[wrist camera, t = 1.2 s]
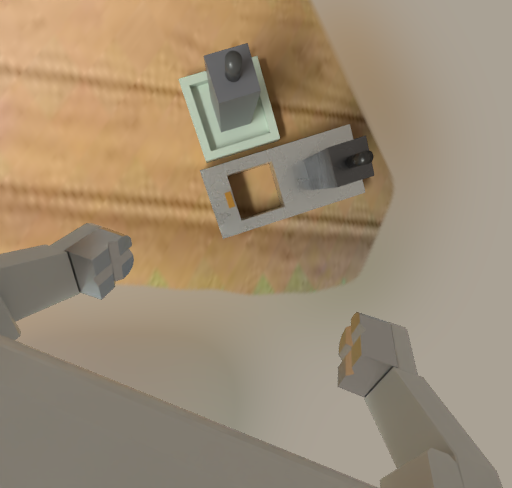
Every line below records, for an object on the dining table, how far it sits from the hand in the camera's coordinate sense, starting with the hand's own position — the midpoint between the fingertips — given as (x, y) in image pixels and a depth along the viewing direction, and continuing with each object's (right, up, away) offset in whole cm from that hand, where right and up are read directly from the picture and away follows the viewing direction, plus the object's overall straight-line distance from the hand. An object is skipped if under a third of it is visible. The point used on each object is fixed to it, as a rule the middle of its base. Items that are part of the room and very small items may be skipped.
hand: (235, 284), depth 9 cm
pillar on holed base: (+4, +10, +28) cm, 30 cm away
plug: (-3, +18, +25) cm, 31 cm away
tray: (-3, +18, +26) cm, 32 cm away
